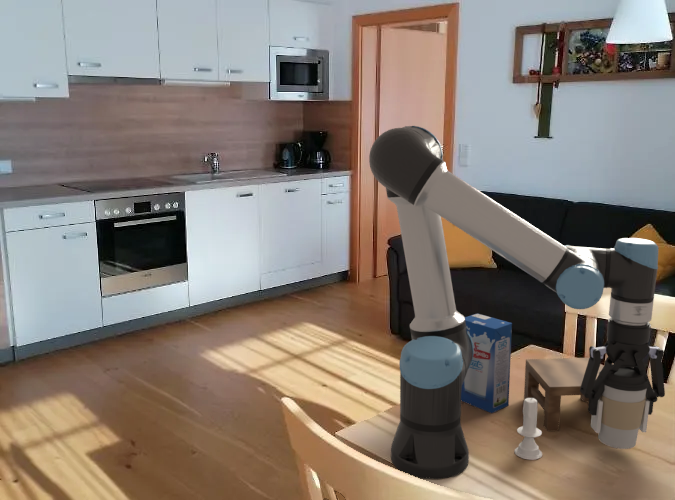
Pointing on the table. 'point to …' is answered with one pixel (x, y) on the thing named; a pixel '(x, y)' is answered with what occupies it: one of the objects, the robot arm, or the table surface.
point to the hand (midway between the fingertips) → (618, 429)
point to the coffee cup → (622, 408)
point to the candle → (529, 432)
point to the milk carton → (488, 363)
